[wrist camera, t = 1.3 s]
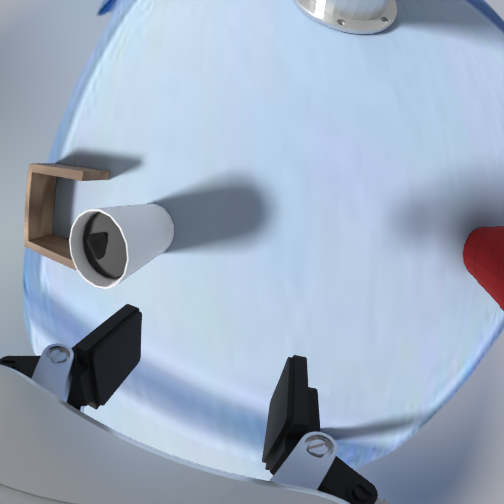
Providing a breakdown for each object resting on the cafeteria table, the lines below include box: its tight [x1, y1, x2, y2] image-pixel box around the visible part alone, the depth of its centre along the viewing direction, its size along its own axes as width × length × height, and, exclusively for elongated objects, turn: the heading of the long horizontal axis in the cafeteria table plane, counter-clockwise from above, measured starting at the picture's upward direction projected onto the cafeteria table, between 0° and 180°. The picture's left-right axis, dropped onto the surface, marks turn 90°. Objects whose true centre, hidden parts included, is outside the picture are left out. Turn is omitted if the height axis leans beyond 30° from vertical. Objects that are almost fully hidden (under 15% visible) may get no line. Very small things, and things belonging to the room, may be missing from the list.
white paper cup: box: [69, 204, 174, 289], centre depth 24 cm, size 7×7×10 cm
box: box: [25, 163, 110, 270], centre depth 28 cm, size 11×11×5 cm
